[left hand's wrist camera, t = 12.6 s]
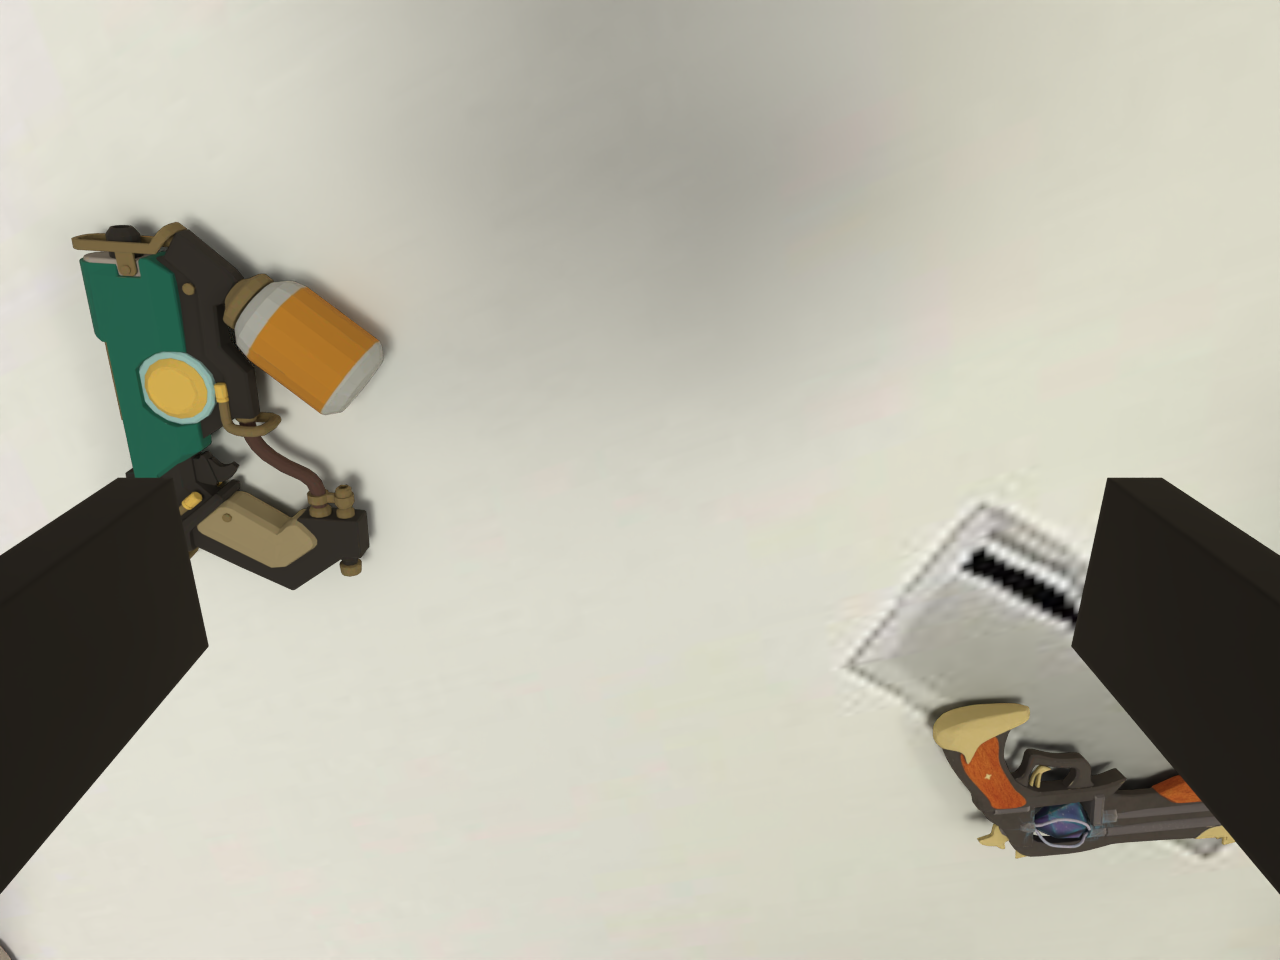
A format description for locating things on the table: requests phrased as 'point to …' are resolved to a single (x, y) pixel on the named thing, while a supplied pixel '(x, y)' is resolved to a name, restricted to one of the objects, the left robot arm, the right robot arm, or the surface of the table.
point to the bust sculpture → (3, 955)
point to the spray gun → (225, 391)
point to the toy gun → (1060, 792)
